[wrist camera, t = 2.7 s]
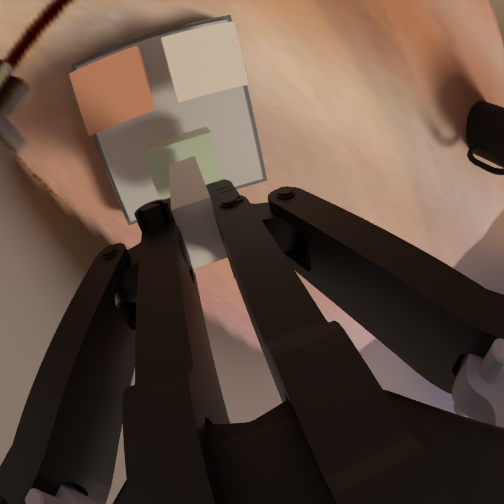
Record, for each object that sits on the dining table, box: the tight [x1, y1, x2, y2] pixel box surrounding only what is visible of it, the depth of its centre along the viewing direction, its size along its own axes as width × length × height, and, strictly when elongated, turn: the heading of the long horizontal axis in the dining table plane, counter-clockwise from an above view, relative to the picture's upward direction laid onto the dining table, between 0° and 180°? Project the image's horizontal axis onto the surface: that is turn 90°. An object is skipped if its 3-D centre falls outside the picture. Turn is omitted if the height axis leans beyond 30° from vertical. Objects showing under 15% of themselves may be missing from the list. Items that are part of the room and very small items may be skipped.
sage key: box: [144, 127, 224, 200], centre depth 19 cm, size 4×4×2 cm
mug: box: [466, 101, 504, 175], centre depth 26 cm, size 8×12×10 cm
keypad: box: [72, 15, 267, 225], centre depth 21 cm, size 14×12×3 cm
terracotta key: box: [69, 46, 156, 136], centre depth 15 cm, size 4×4×2 cm
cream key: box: [161, 21, 249, 103], centre depth 15 cm, size 4×4×2 cm
